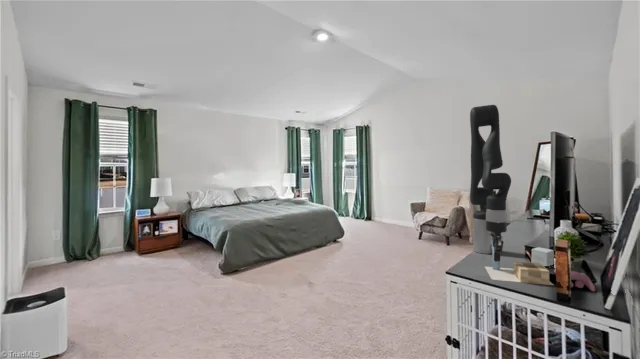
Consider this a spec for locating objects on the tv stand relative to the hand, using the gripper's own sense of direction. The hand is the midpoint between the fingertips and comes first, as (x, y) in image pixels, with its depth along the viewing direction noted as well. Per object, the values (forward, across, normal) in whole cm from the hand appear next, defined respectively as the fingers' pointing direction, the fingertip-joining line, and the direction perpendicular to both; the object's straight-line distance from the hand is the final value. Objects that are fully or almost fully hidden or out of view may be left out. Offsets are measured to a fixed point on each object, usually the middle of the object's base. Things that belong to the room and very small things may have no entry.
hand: (496, 259), depth 123 cm
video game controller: (+5, +13, +22) cm, 26 cm away
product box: (+5, -11, +20) cm, 23 cm away
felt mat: (+4, +5, +6) cm, 9 cm away
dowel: (+4, 0, 0) cm, 4 cm away
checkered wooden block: (+4, +8, +10) cm, 13 cm away
